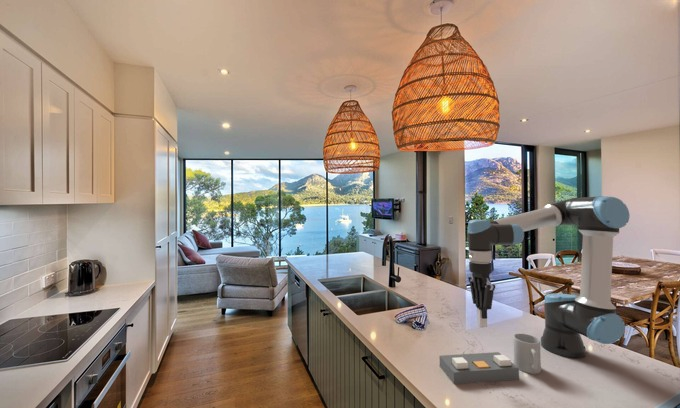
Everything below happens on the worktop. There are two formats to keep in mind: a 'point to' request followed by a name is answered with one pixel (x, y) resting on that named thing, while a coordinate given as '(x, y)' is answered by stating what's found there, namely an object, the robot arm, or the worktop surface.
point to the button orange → (481, 364)
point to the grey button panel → (467, 372)
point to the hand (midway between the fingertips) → (482, 326)
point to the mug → (527, 353)
